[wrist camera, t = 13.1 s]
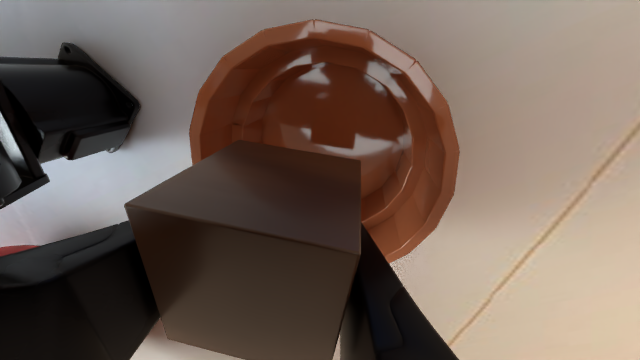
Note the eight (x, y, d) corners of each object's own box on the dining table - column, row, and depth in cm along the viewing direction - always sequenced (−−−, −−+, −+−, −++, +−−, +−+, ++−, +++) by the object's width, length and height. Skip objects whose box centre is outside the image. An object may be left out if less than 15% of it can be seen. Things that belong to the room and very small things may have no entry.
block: (242, 234, 11) (167, 339, 7) (238, 139, 9) (121, 204, 5) (340, 255, 11) (326, 382, 6) (361, 159, 9) (361, 253, 4)
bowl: (219, 133, 19) (148, 164, 13) (337, -12, 13) (315, -82, 7) (325, 236, 22) (311, 302, 15) (459, 150, 16) (518, 200, 10)
